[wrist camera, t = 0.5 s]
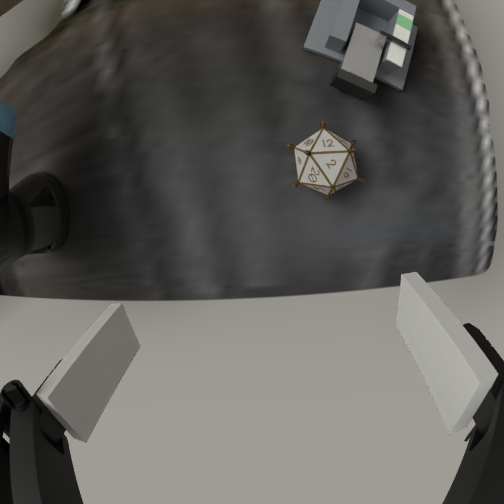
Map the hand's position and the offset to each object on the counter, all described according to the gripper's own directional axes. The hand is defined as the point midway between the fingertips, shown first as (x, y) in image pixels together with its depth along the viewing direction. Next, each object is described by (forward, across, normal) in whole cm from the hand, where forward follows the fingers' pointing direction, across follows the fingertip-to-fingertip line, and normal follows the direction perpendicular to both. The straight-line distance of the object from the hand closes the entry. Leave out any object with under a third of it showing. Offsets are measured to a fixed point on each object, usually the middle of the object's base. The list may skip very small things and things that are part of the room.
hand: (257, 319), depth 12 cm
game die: (+26, +7, +4) cm, 28 cm away
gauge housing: (+26, +16, +22) cm, 38 cm away
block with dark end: (+25, +15, +17) cm, 33 cm away
